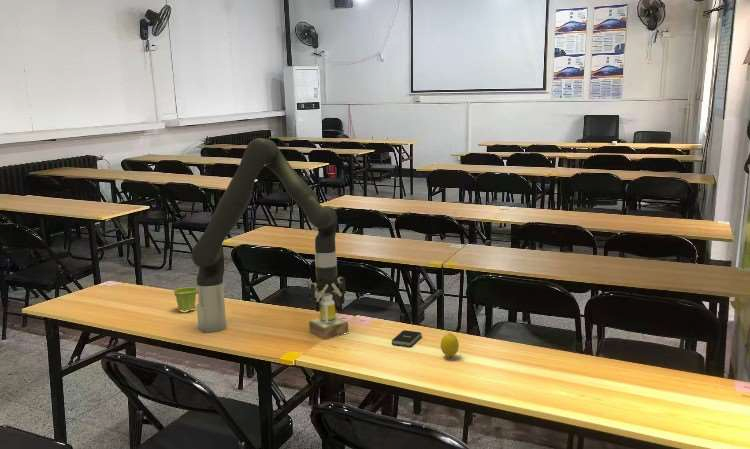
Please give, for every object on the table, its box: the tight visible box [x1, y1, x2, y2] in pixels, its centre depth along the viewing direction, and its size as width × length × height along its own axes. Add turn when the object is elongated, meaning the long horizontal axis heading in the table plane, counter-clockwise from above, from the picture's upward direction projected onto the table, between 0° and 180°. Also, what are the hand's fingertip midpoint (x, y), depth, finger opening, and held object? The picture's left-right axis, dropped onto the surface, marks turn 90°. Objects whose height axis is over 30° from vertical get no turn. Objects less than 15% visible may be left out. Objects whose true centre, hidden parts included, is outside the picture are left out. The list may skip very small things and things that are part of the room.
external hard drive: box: [391, 329, 422, 348], centre depth 203 cm, size 7×11×2 cm, turn 155°
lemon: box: [440, 332, 460, 358], centre depth 187 cm, size 6×6×8 cm
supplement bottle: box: [319, 292, 336, 323], centre depth 211 cm, size 5×5×10 cm
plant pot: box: [173, 286, 198, 311], centre depth 242 cm, size 9×9×9 cm
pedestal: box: [308, 316, 349, 341], centre depth 212 cm, size 10×10×4 cm
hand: (327, 308), depth 211 cm, fingers open, 8 cm apart
